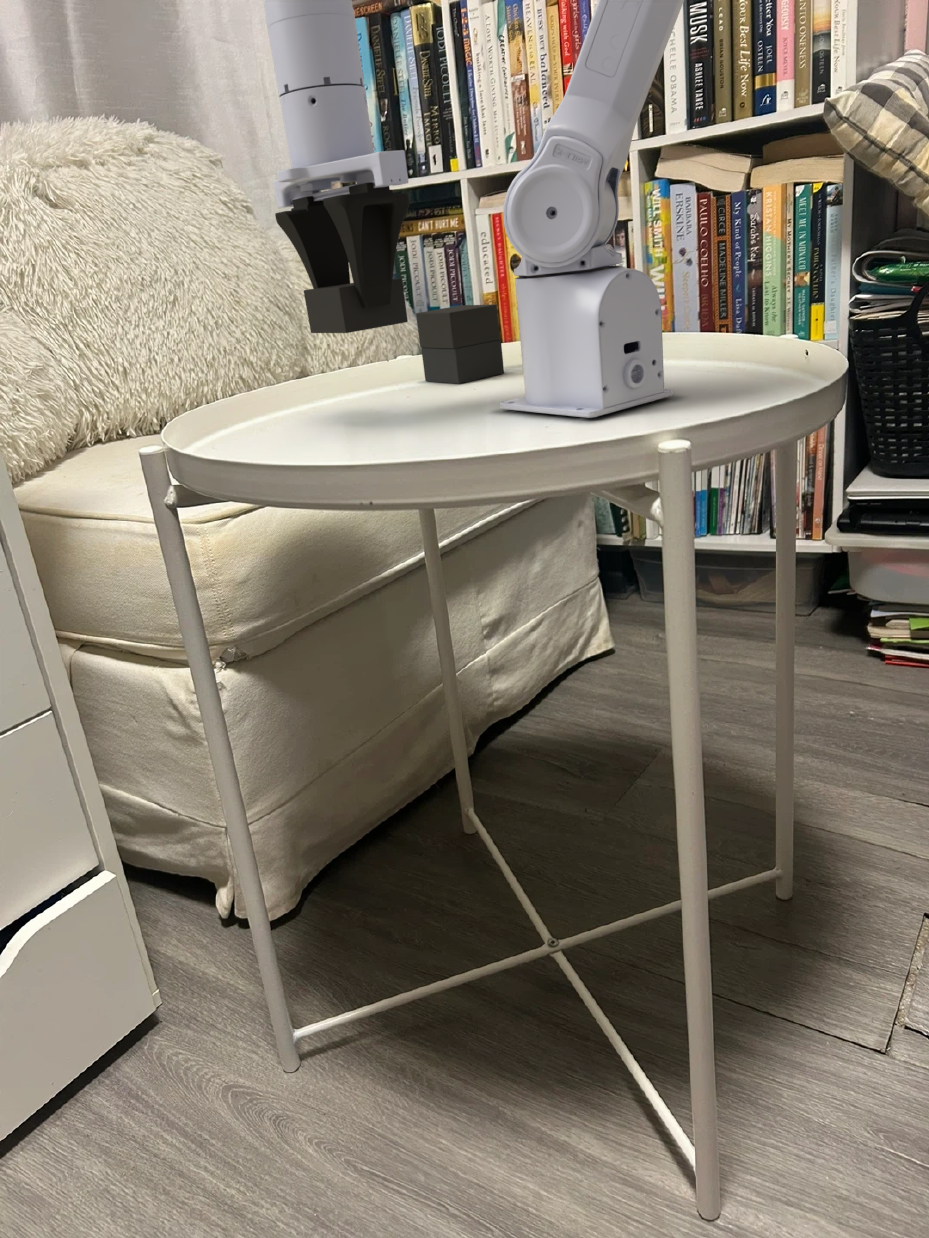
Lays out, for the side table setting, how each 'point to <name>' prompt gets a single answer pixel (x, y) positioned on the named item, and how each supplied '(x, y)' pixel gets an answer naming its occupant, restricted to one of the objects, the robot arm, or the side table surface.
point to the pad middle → (458, 326)
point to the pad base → (463, 362)
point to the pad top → (351, 309)
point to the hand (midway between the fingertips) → (355, 307)
